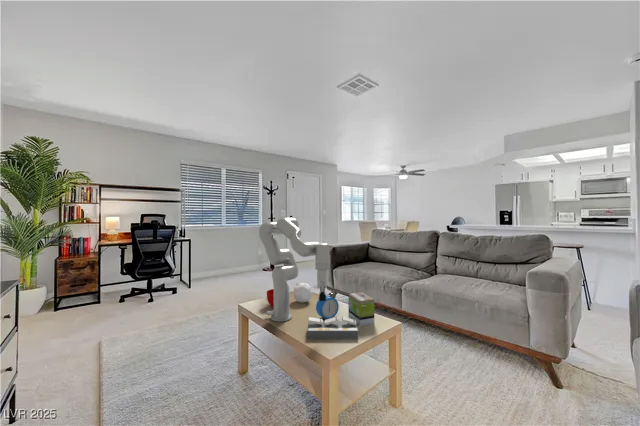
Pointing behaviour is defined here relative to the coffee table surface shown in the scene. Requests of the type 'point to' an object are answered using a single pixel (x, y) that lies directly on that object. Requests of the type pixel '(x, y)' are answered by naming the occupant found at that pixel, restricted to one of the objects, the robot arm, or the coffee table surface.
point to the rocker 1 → (315, 320)
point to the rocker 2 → (331, 320)
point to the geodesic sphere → (302, 292)
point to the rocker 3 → (349, 320)
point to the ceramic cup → (270, 297)
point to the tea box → (361, 308)
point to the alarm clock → (327, 306)
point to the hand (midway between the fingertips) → (322, 300)
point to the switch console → (332, 331)
